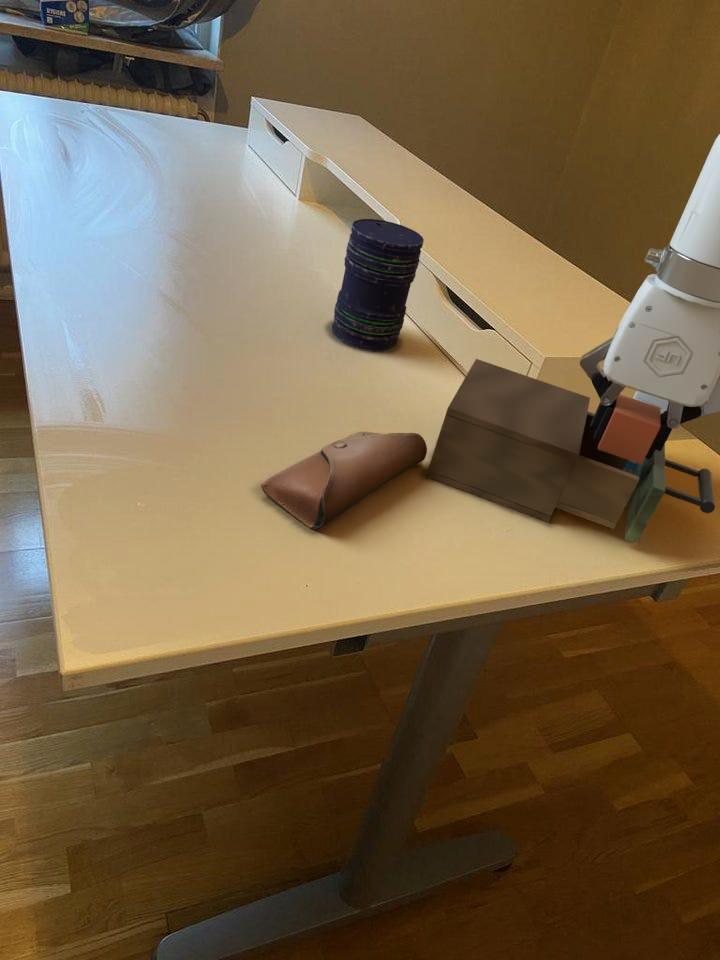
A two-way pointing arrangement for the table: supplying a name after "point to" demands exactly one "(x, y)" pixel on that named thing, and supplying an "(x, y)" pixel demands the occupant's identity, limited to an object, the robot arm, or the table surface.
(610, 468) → the drawer
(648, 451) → the robot arm
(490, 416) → the cabinet
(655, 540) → the table surface
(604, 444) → the block
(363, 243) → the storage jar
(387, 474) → the sunglasses case
